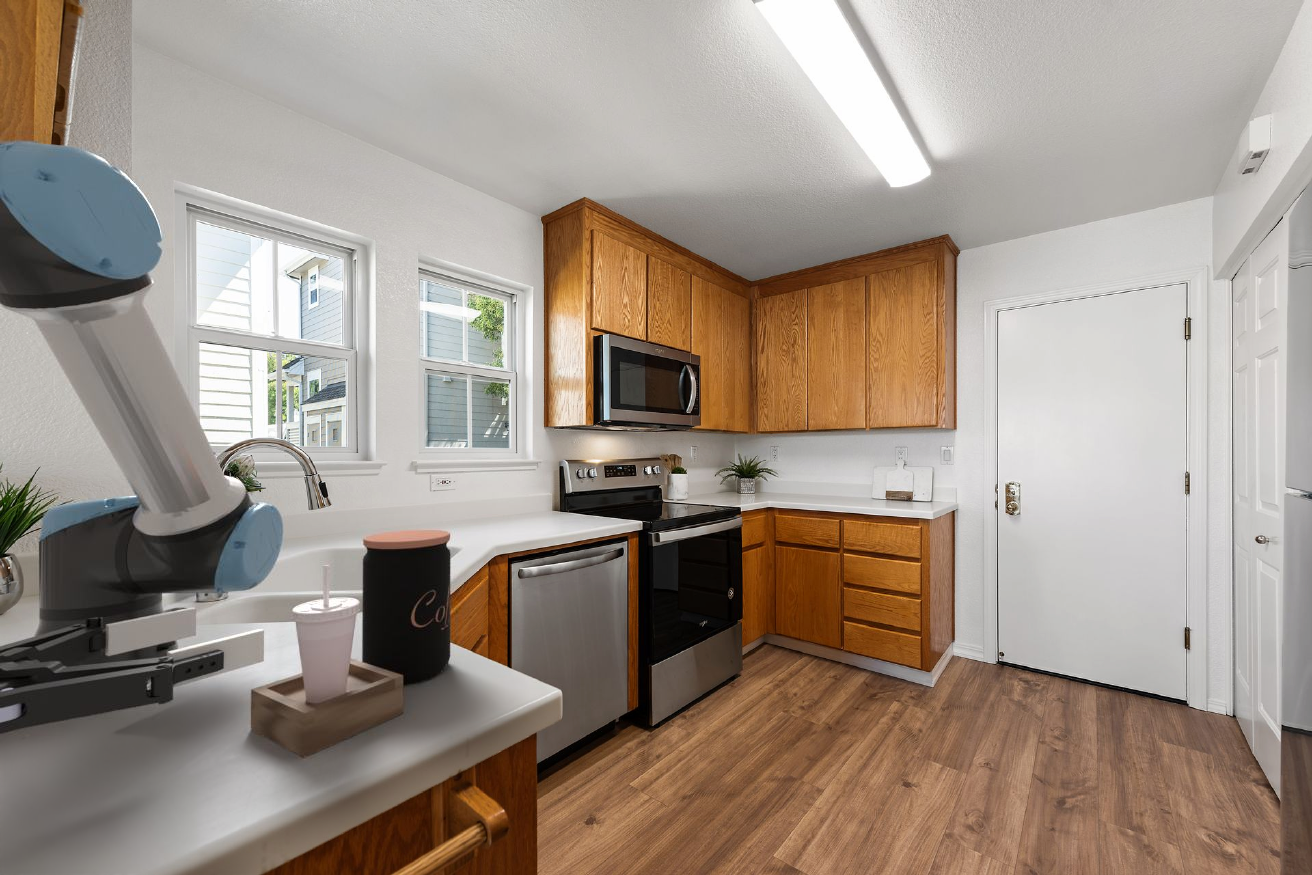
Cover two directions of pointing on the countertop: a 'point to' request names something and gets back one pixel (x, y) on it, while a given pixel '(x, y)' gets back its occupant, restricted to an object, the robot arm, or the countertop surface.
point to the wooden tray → (325, 709)
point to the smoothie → (325, 642)
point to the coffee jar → (407, 603)
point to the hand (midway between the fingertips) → (226, 632)
